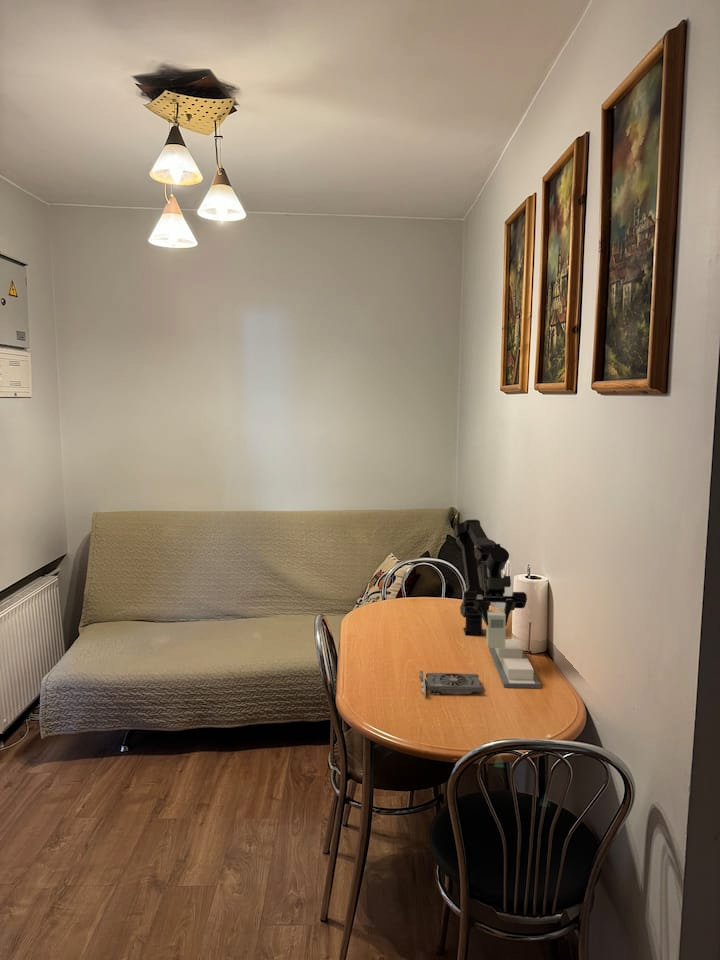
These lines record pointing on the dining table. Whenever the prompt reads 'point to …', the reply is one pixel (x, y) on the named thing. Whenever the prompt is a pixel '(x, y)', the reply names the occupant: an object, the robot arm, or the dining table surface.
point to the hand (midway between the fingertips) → (496, 625)
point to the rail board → (514, 666)
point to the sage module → (496, 629)
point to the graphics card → (450, 683)
